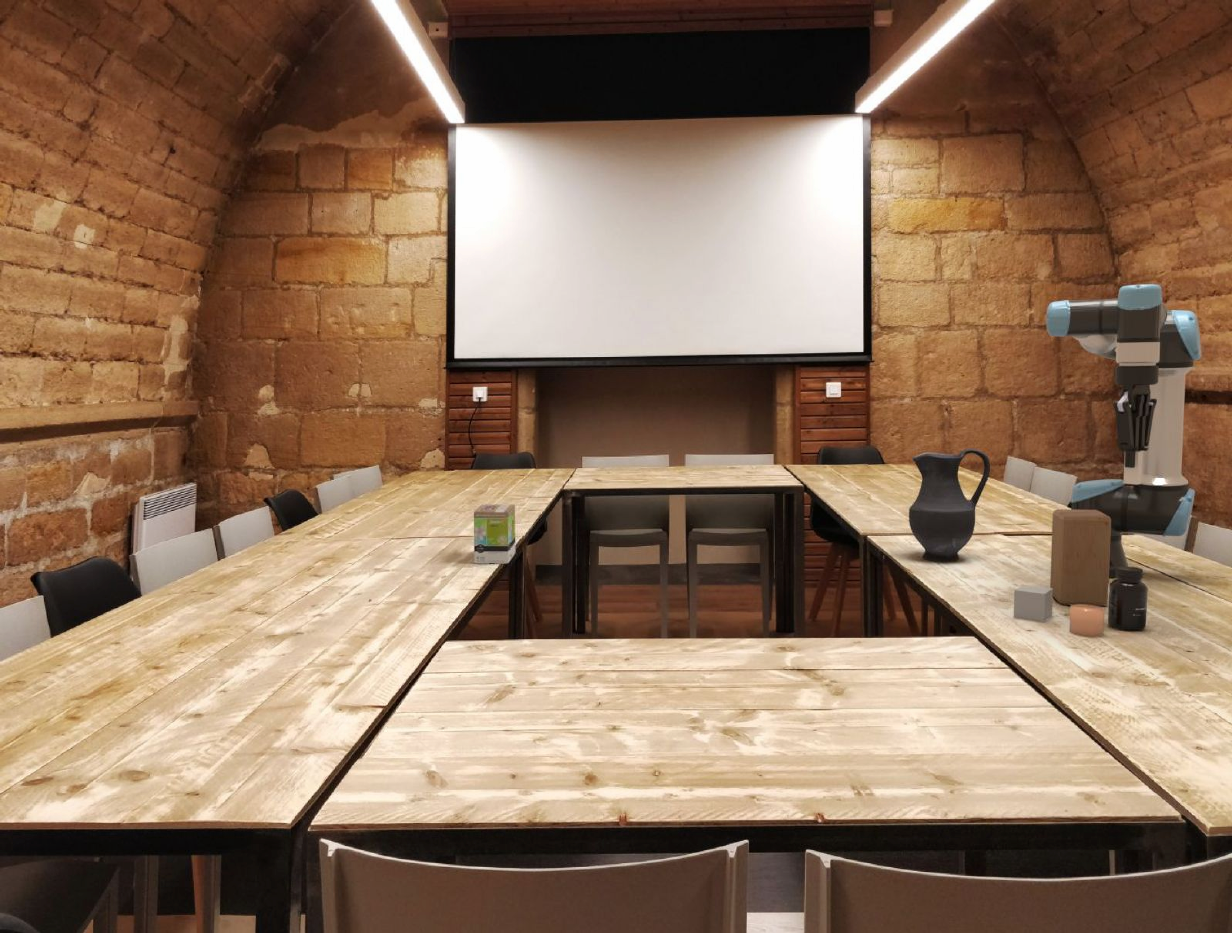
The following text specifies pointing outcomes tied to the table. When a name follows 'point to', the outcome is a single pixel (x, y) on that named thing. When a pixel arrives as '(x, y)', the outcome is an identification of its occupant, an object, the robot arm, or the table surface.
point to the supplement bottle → (1128, 600)
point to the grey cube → (1033, 603)
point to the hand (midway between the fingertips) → (1132, 483)
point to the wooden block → (1080, 557)
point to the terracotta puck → (1086, 620)
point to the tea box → (494, 534)
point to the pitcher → (944, 505)
